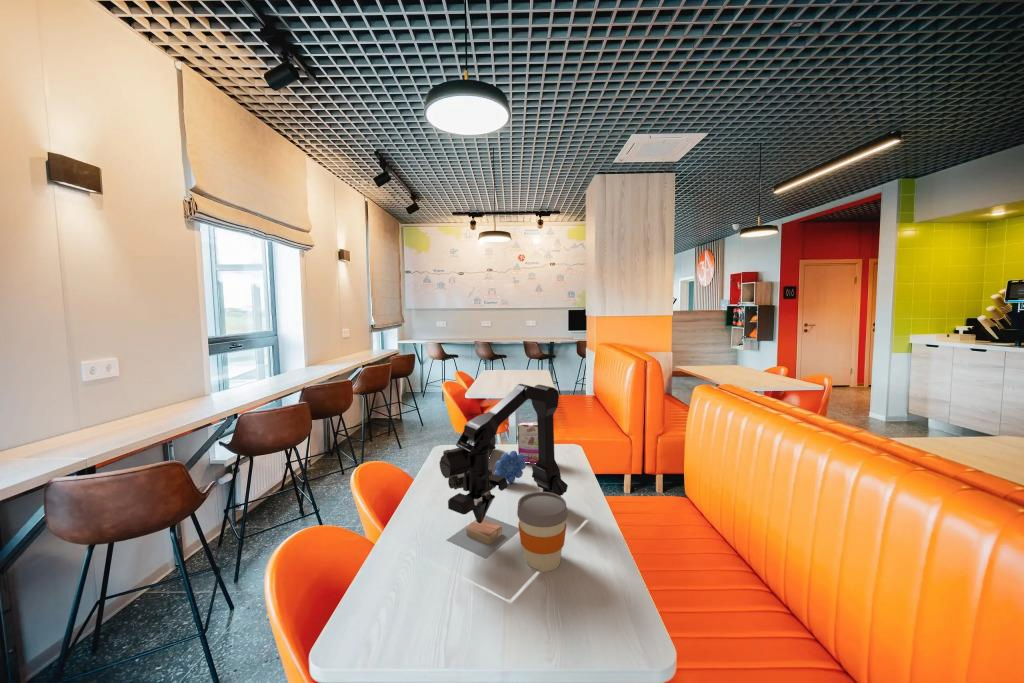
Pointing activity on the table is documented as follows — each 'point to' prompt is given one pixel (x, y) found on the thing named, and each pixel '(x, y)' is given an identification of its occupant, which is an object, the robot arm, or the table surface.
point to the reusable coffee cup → (542, 529)
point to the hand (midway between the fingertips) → (479, 522)
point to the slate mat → (481, 547)
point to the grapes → (510, 466)
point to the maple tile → (484, 531)
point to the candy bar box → (528, 441)
